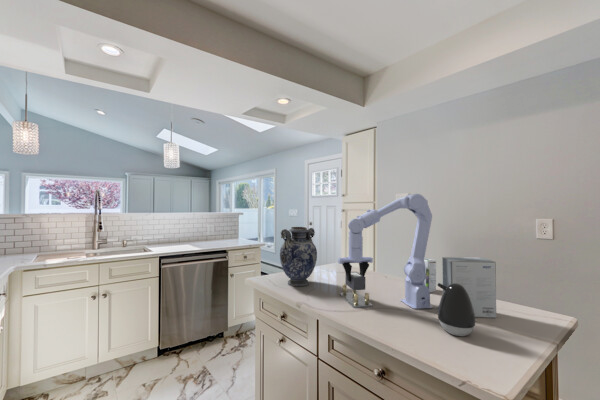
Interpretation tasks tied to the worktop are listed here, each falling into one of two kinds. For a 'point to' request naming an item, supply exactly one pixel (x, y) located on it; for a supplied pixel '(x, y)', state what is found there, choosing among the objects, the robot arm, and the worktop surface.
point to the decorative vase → (298, 255)
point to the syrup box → (430, 274)
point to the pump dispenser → (456, 310)
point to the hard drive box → (473, 281)
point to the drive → (356, 281)
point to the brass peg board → (356, 298)
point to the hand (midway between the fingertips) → (355, 280)
